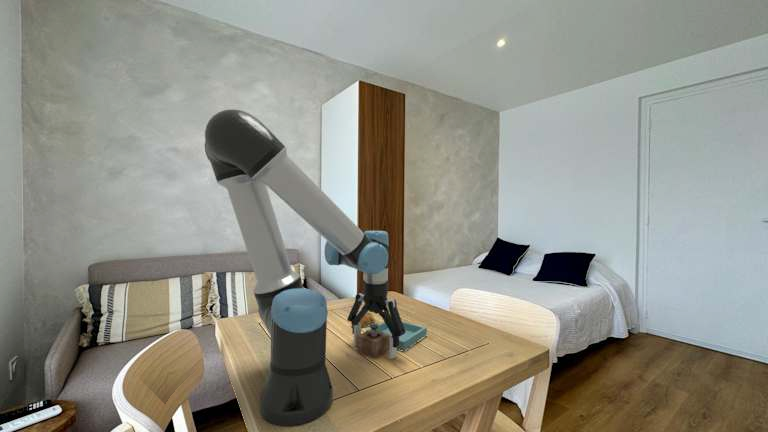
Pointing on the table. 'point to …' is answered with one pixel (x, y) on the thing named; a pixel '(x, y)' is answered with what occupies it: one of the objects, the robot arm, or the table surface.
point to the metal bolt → (374, 329)
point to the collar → (373, 344)
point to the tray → (409, 337)
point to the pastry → (367, 320)
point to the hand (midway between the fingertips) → (374, 351)
